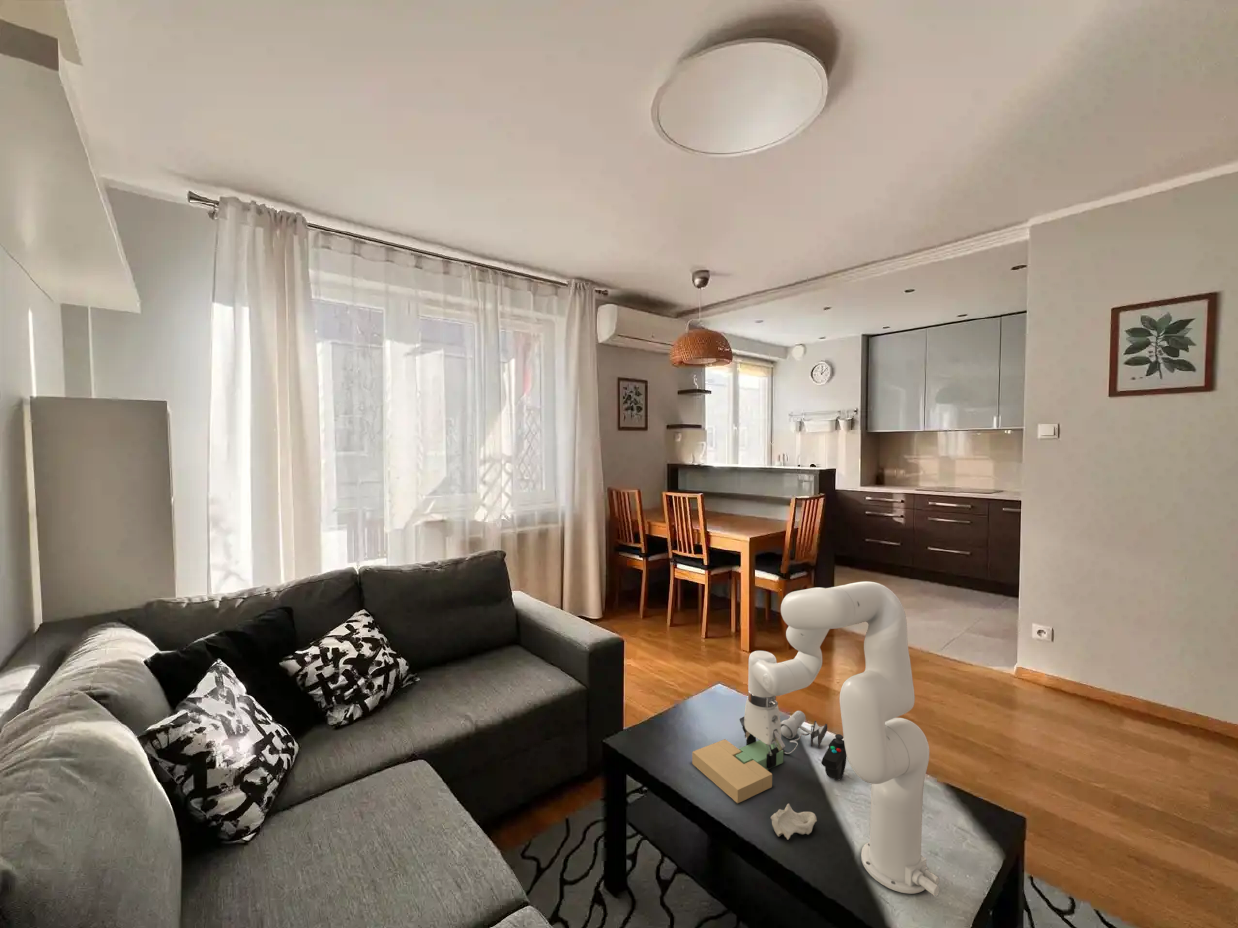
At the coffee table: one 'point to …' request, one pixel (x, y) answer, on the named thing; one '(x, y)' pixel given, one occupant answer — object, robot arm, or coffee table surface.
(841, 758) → the controller
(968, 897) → the coffee table surface
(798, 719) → the clip-on lamp
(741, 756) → the green pad
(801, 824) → the coral
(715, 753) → the sand pad
